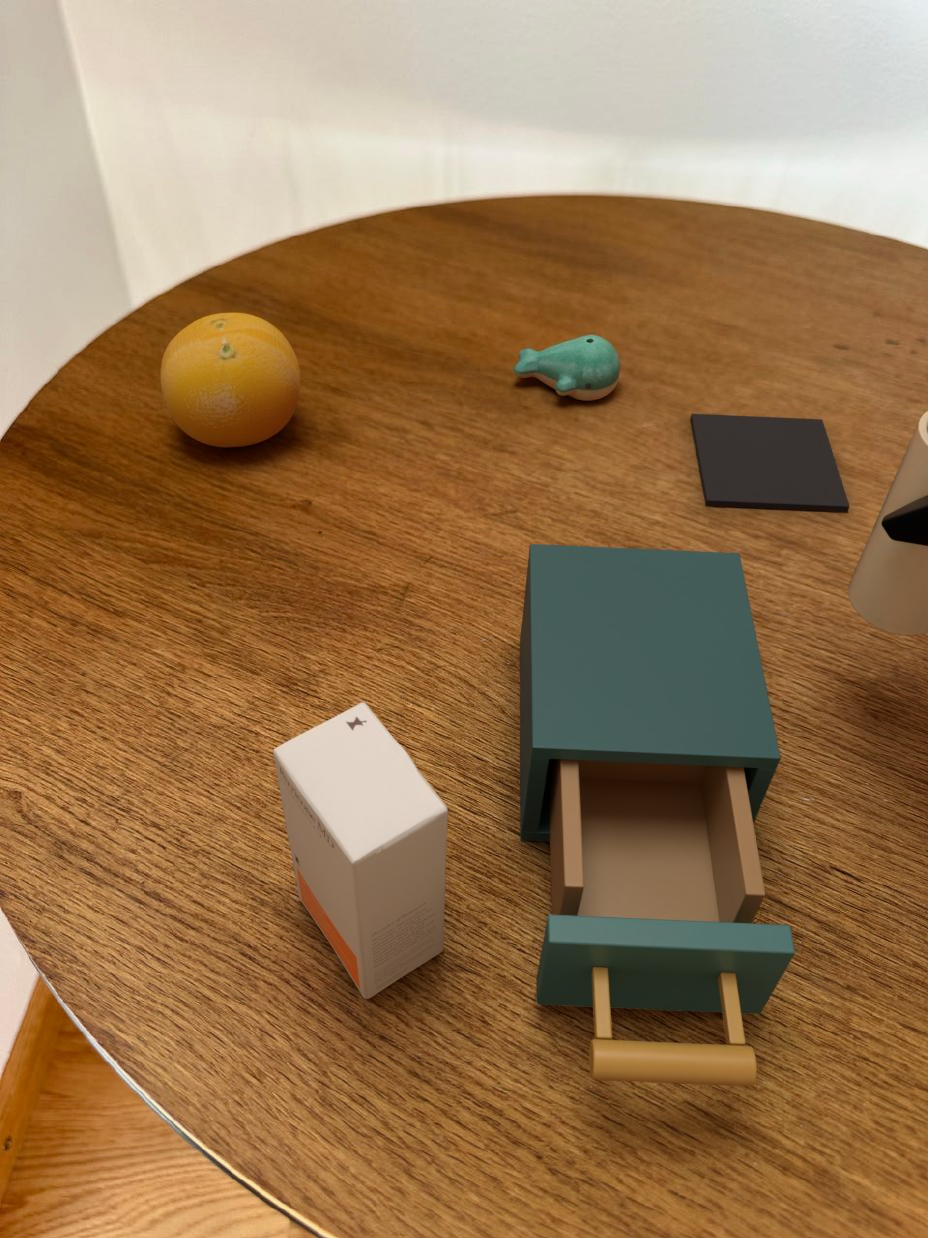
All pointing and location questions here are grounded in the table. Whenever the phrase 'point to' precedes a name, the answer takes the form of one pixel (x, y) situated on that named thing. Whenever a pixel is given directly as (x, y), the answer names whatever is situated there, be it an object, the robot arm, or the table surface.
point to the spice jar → (896, 555)
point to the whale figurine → (574, 367)
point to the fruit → (230, 380)
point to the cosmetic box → (365, 846)
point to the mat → (767, 463)
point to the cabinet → (639, 668)
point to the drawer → (658, 912)
